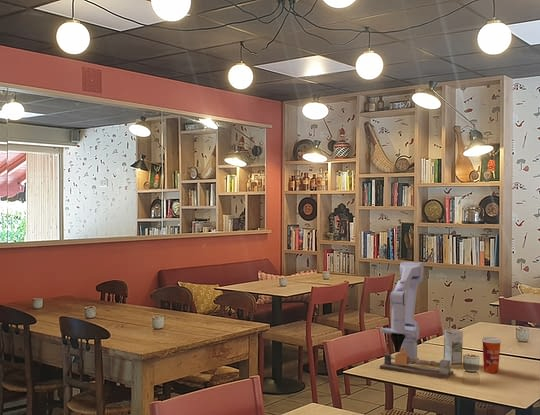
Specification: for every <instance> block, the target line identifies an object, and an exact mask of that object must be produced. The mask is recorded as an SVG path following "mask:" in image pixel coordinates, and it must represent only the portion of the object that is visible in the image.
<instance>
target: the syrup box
mask: <svg viewBox="0 0 540 415" xmlns="http://www.w3.org/2000/svg"><path fill="white" fill-rule="evenodd" d="M463 338H464V331H463V330H460V329H458V328H452V329H451V328H449V329H446V328H445V329H444V338H443V339H444V340H443V359H446V360H450V365H461V364H463V341H464V339H463Z"/></svg>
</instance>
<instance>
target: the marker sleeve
mask: <svg viewBox="0 0 540 415" xmlns="http://www.w3.org/2000/svg"><path fill="white" fill-rule="evenodd" d="M394 356H395V360H394V362H395V364H401V365H408V364H410V365H411V363H410V362H408V361H407V358H410V354H405V348H401V349H400V353H398V352H396V353H395V355H394Z"/></svg>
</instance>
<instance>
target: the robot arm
mask: <svg viewBox="0 0 540 415" xmlns="http://www.w3.org/2000/svg"><path fill="white" fill-rule="evenodd" d="M424 268H425V267H424V263H423V262H412V261H410V262H409V261H401V262H400V264H399V274H400V280H398V281H397V283H396V285H395V287H394V289H393V291H391V292H390V295H389V302H390V309H391V316H390V317H391V320H390V321H391V325H390V328H388V327H382V328H380V329H381V330H380V333H381V334H390V335H389V336H390V339H391V341H392V343H393V347H394V352H395V353H400V349H401V348H405V354H410V358H411V359H418V360H420V358H418V343H417V342H416V341H418V340H419V338H420V324H419V323H418V321H416V320H415V313H416V312H415V311H416V301H417V293H418V286H419V284H421V283H422V282H423V279H424V271H425V270H424ZM413 363H414V362H410V364H413Z"/></svg>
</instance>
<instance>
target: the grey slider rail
mask: <svg viewBox="0 0 540 415" xmlns="http://www.w3.org/2000/svg"><path fill="white" fill-rule="evenodd" d="M392 360H394V361H392ZM407 361H408V362H413V363H417V364H423V365H430V366H433V367H429V366H422V365H416V364H411V363H410V364H408V365H401V364H395V355H392V354H391V353H386V354H384V362H383V364H381V365H379V369H380V370H387V371H392V372H393V371H394V372H399V373H405V374H413V375H420V376H426V377H431V378H432V377H433V378H438V379H445V380H446V379H448V378H449V377H451V376H452V375H454V370H452V369H451V364H450V360H446V359H444V358H443V359H441V360H439V361H435V360H431V361H430V360H424V359H419V360H418V359H411V358H407ZM435 366H437V367H439V368H435Z"/></svg>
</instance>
